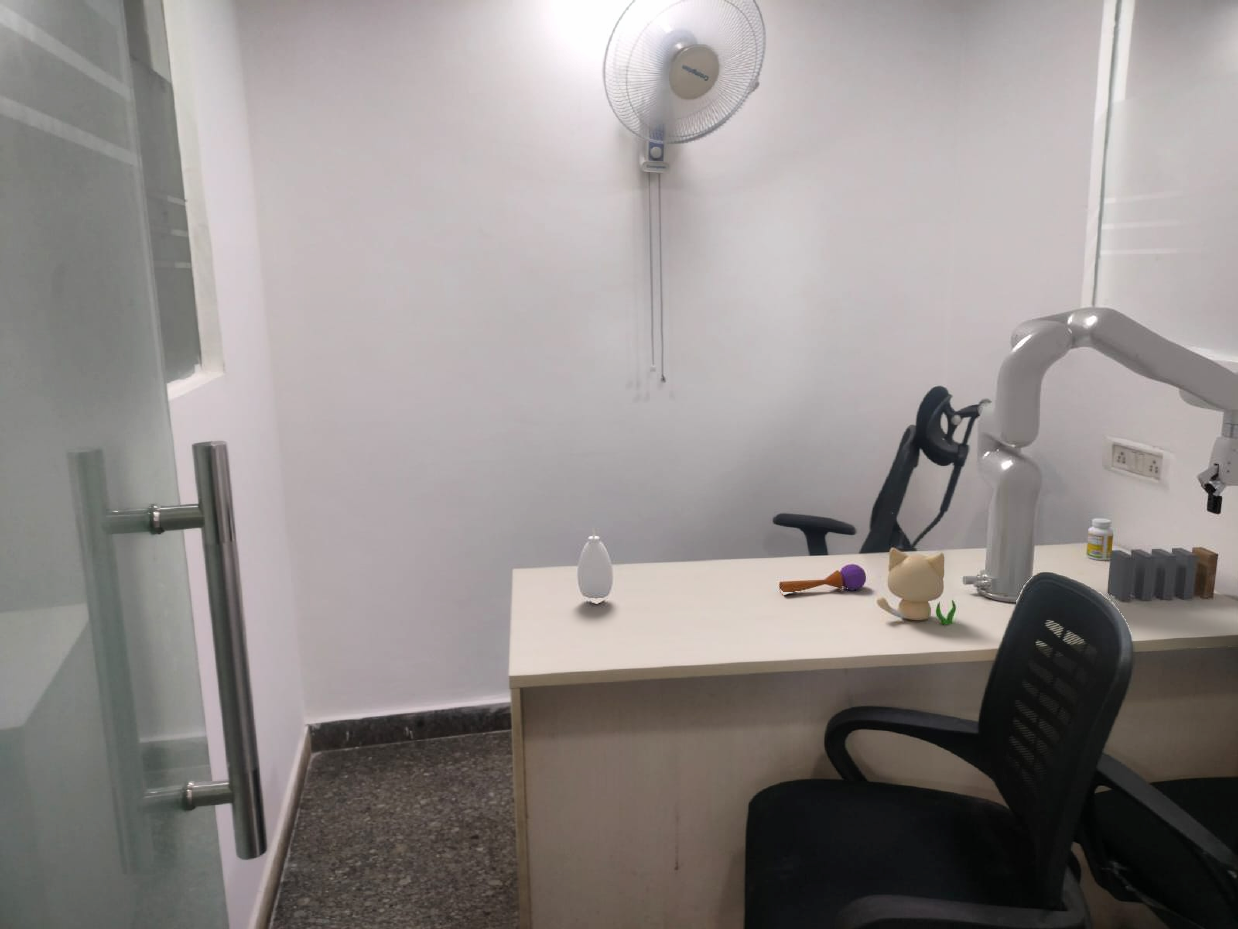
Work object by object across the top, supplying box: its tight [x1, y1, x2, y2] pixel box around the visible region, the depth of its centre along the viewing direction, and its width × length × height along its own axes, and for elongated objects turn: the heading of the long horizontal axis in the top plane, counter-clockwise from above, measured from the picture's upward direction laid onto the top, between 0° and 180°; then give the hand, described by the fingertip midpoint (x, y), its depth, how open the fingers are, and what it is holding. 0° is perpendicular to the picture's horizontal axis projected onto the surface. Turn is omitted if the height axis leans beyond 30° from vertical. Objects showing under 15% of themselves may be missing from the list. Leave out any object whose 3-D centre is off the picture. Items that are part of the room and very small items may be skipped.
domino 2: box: [1130, 549, 1156, 602], centre depth 177 cm, size 2×5×10 cm, turn 1°
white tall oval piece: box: [577, 525, 614, 599], centre depth 182 cm, size 8×8×18 cm
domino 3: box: [1150, 548, 1177, 601], centre depth 177 cm, size 2×5×10 cm, turn 1°
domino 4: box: [1171, 547, 1198, 601], centre depth 177 cm, size 2×5×10 cm, turn 1°
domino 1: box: [1106, 549, 1135, 603], centre depth 177 cm, size 2×5×10 cm, turn 1°
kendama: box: [778, 563, 867, 592], centre depth 187 cm, size 6×6×20 cm
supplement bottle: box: [1086, 517, 1114, 562], centre depth 204 cm, size 5×5×10 cm
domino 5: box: [1191, 546, 1219, 600], centre depth 177 cm, size 2×5×10 cm, turn 1°
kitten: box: [876, 547, 957, 626], centre depth 169 cm, size 15×10×15 cm
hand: (1234, 511), depth 175 cm, fingers open, 8 cm apart
